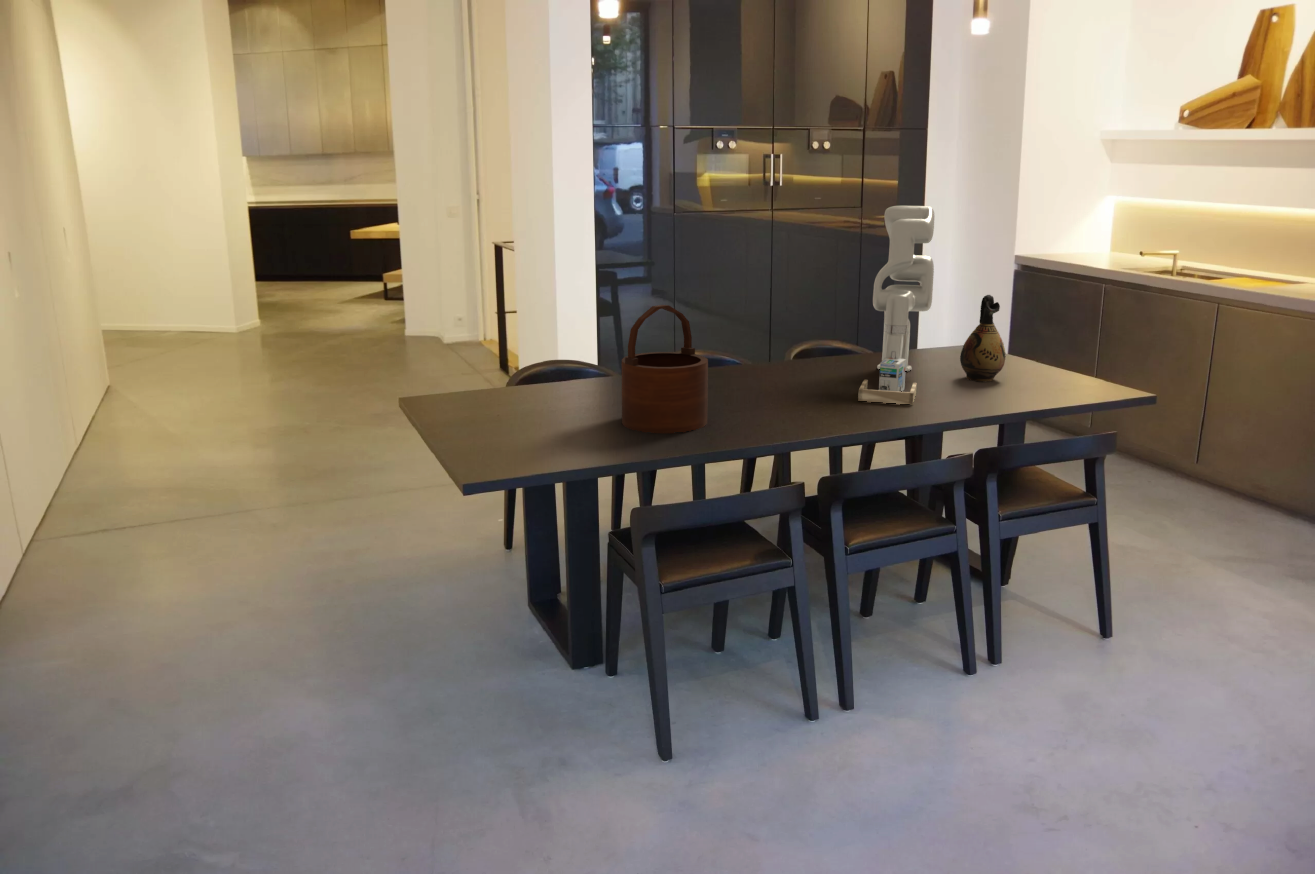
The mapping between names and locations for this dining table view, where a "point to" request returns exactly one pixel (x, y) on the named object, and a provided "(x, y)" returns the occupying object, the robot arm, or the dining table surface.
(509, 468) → the dining table surface
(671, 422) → the wooden bucket
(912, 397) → the birch stall
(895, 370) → the light bulb box
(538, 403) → the dining table surface
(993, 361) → the ceramic jug
